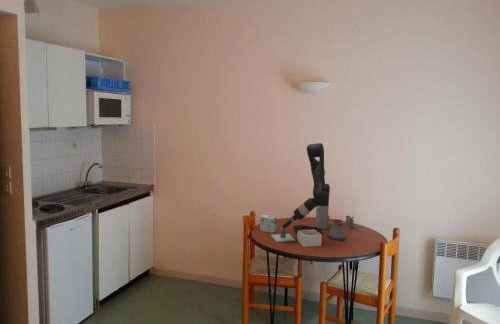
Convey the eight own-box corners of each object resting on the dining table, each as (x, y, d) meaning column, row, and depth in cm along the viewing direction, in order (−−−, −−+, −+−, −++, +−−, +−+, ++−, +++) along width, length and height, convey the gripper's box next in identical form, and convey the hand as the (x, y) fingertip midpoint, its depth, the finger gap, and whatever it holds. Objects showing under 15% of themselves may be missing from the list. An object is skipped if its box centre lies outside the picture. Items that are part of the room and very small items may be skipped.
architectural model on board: (353, 229, 294) (354, 216, 293) (349, 229, 294) (350, 216, 293) (349, 225, 305) (350, 213, 304) (345, 225, 305) (346, 213, 304)
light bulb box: (276, 230, 287) (277, 216, 286) (274, 233, 281) (274, 218, 280) (262, 228, 291) (263, 214, 290) (259, 231, 285) (260, 216, 283)
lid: (289, 236, 273) (289, 223, 272) (295, 242, 261) (295, 229, 260) (271, 237, 271) (271, 224, 269) (276, 243, 258) (276, 230, 257)
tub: (314, 241, 264) (314, 229, 263) (321, 246, 253) (321, 234, 252) (297, 242, 262) (297, 230, 261) (303, 248, 250) (303, 235, 249)
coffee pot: (327, 236, 276) (328, 215, 274) (343, 236, 275) (344, 215, 274) (332, 246, 254) (333, 223, 253) (350, 246, 254) (351, 224, 252)
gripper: (301, 204, 266) (284, 219, 271) (295, 209, 253) (278, 224, 258) (308, 213, 264) (291, 227, 270) (303, 218, 251) (285, 233, 257)
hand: (285, 226), depth 264 cm, fingers open, 8 cm apart
